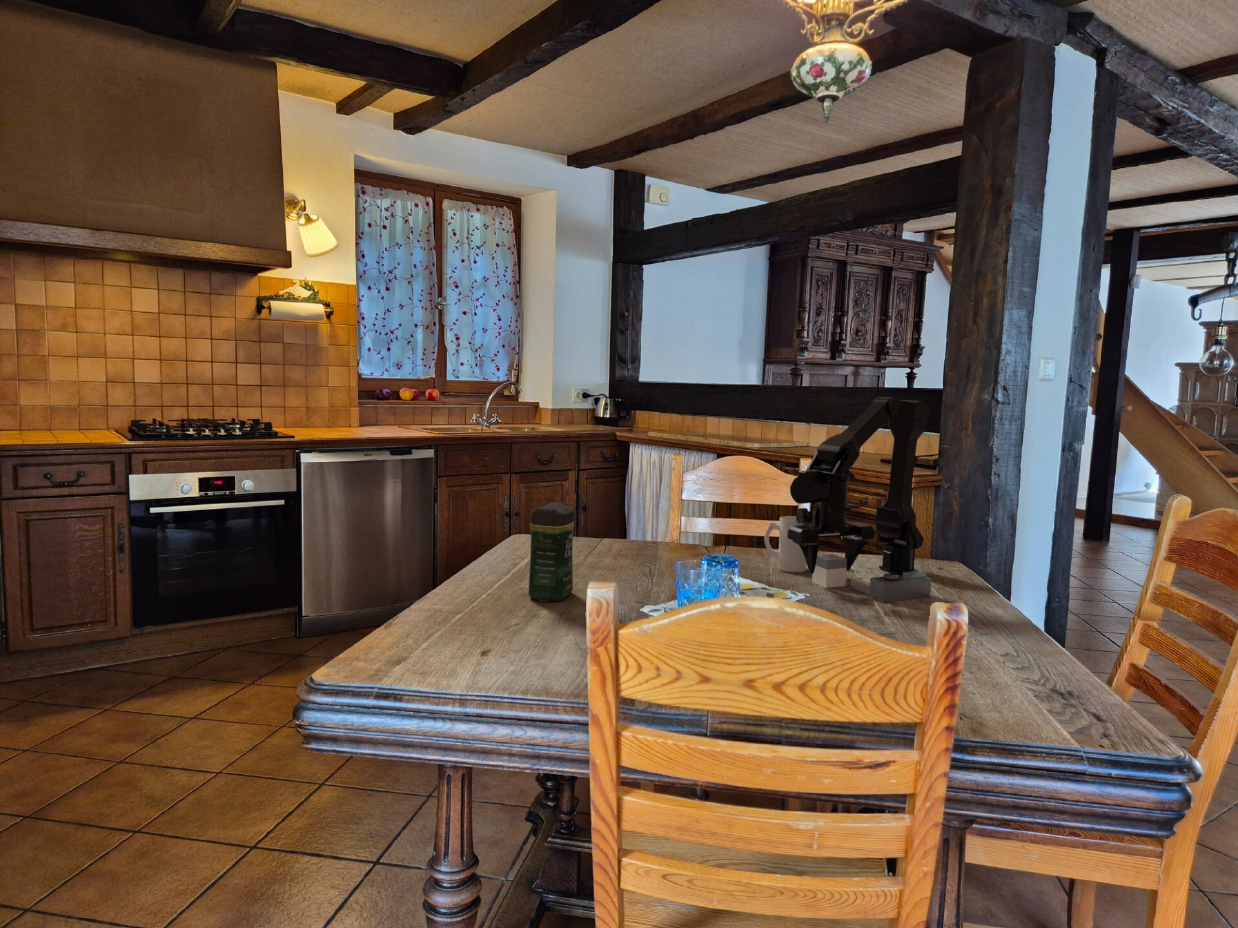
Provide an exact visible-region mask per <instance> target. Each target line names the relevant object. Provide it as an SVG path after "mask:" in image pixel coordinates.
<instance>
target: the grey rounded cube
mask: <svg viewBox="0 0 1238 928" xmlns="http://www.w3.org/2000/svg"><path fill="white" fill-rule="evenodd" d="M846 565H847V559H846V558H845V557H843V556H839V555H838V554H834V553H825V554H817V560H816V567H815V570H814V573H813V574H812V576H811V577H812V579H811V581H812V583H814V584H816V585H819V586H821V587H824V588H826V589H827V588H836V587H837V588H838V587H846V583H847V582H846V580H847V570H846Z"/></svg>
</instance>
